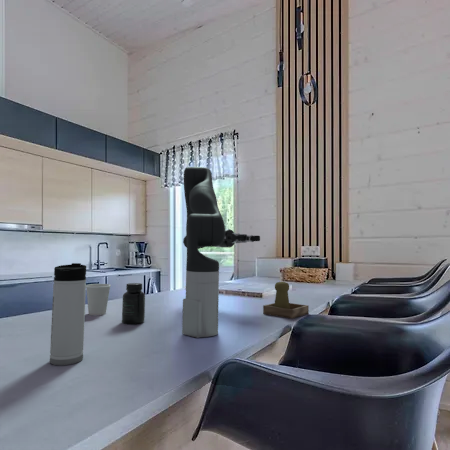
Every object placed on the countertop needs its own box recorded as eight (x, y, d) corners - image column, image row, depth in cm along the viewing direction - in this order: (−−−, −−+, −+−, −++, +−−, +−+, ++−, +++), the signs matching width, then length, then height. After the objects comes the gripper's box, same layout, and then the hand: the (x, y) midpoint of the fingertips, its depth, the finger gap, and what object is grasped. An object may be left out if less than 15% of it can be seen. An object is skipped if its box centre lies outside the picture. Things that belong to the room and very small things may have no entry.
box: (292, 318, 115) (292, 309, 115) (263, 313, 122) (263, 305, 123) (308, 313, 124) (308, 305, 124) (280, 309, 132) (280, 301, 132)
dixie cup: (79, 315, 115) (80, 285, 116) (94, 310, 123) (95, 283, 124) (100, 316, 113) (101, 286, 114) (114, 312, 121) (115, 284, 122)
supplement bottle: (133, 319, 111) (134, 282, 112) (149, 321, 107) (150, 283, 108) (117, 322, 105) (118, 284, 106) (132, 325, 101) (134, 285, 102)
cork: (289, 311, 125) (289, 281, 126) (291, 314, 119) (291, 283, 120) (273, 310, 126) (273, 280, 126) (273, 314, 120) (273, 282, 120)
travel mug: (88, 355, 74) (91, 263, 75) (75, 365, 67) (80, 265, 69) (58, 355, 74) (63, 263, 75) (43, 365, 67) (48, 264, 68)
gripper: (210, 228, 136) (242, 227, 126) (232, 230, 147) (263, 229, 137) (210, 247, 136) (241, 247, 125) (232, 247, 147) (263, 247, 136)
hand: (253, 238), depth 131 cm, fingers open, 8 cm apart
